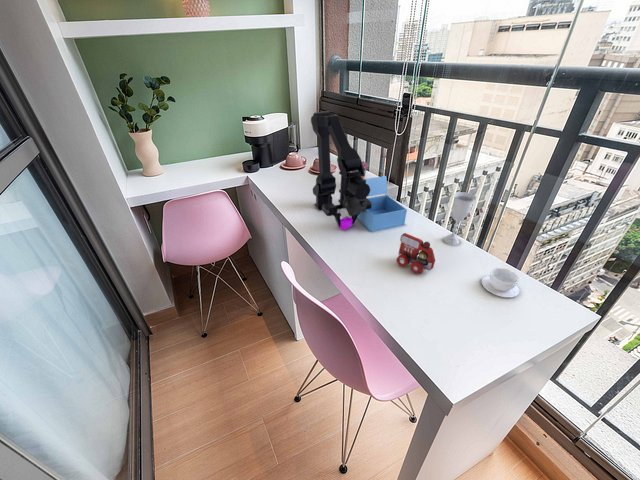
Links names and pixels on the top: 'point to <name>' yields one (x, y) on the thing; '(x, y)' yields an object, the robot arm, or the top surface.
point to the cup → (364, 169)
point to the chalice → (460, 213)
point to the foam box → (383, 214)
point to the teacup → (502, 282)
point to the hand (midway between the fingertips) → (345, 225)
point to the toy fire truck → (415, 254)
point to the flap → (377, 185)
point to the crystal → (346, 223)
